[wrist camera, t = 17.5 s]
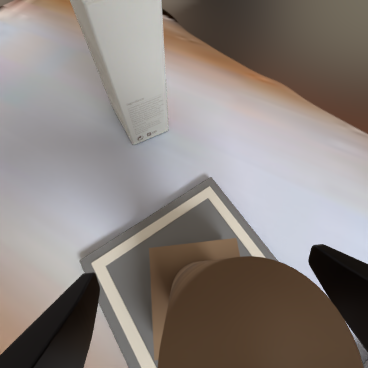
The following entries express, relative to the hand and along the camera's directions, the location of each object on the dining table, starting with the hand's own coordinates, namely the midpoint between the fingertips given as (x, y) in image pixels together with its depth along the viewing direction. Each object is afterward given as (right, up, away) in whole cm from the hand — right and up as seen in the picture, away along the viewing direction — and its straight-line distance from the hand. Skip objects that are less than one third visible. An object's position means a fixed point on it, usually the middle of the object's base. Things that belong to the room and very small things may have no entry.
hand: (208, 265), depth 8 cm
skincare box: (-6, +10, +13) cm, 18 cm away
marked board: (0, -4, +7) cm, 9 cm away
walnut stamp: (0, -4, +7) cm, 8 cm away
